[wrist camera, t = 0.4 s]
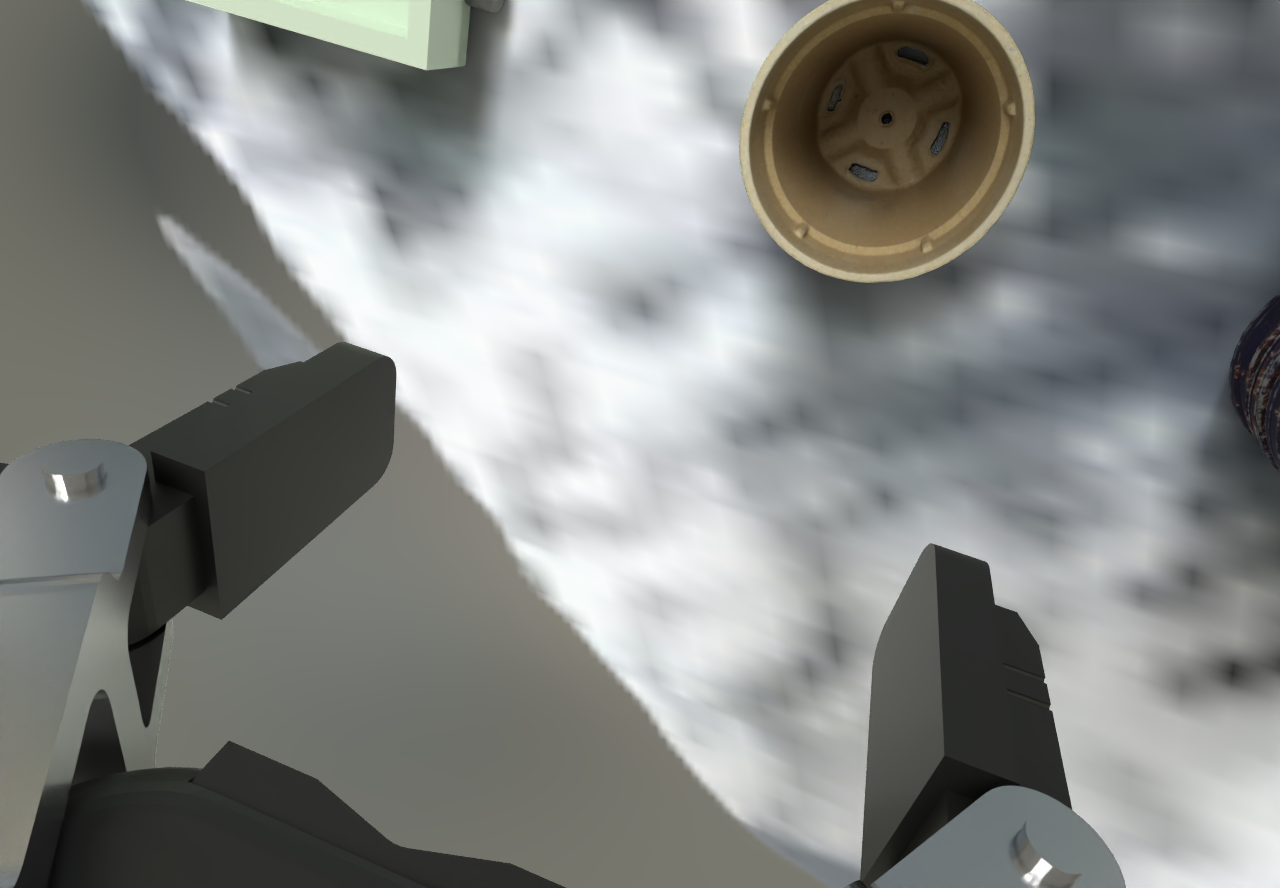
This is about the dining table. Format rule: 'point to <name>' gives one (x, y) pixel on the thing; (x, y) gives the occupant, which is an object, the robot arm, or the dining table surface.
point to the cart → (374, 25)
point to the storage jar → (1259, 380)
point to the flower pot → (886, 136)
